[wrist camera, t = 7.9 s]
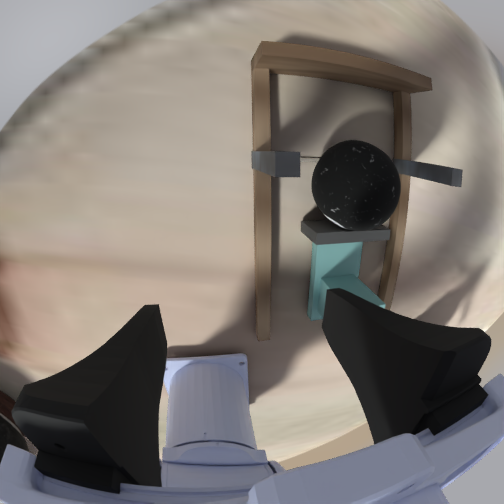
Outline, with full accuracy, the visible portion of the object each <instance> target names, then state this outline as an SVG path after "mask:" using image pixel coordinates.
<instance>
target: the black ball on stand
mask: <svg viewBox="0 0 504 504" xmlns="http://www.w3.org/2000/svg"><path fill="white" fill-rule="evenodd" d="M15 403H16V402H15V401H14V400H13V399H12V398H10V397H9V396H8V395H6V394H5V393H3V392H2V391H0V464H1V461H2V458H3V455H4V452H5V449H6V447H7V444H10V445H12V446H15V447H17V448H20V449H23V450H25V451H28V452H29V449H28V446H27V444H26V441H25V439H24V437H23V436H25V435H24V434H23V432H22V431H21V430H20V429H19V428H18V426H17V425H16V424H15V421H14V419H13V417H12V409H13V407H14V405H15ZM25 437H26V436H25Z"/></svg>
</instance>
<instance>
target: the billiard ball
mask: <svg viewBox="0 0 504 504" xmlns="http://www.w3.org/2000/svg"><path fill="white" fill-rule="evenodd" d="M312 193H313V197H314V200H315V202H316V204H317V206H318V207H319V209H320V210H321V212H322V213H323V214H324V215H325V216H326V217H327V218H328V219H329V220H331V221H332V222H333V223H335V224H337V225H338V226H340V227H343V228H345V229H348V230H353V231H367V230H371V229H374V228H376V227H378V226H380V225H382V224H383V223H384V222H385V221H387V220H388V219H389V218H390V216H391V215H392V214H393V212H394V211H395V209H396V207H397V205H398V202H399V199H400V194H401V181H400V176H399V173H398V171H397V168H396V166H395V165H394V163H393V162H392V160H391V159H390V158H389V157H388V156H387V155H386V154H385V153H384V152H383V151H382V150H380V149H379V148H377V147H375V146H374V145H372V144H369V143H366V142H363V141H357V140H349V141H344V142H341V143H338V144H336V145H334V146H333V147H331V148H330V149H329V150H327V151H326V152H325V153H324V154H323V155H322V157H321V158H320V159H319V161H318V163H317V165H316V167H315V169H314V172H313V176H312Z"/></svg>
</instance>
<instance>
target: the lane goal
mask: <svg viewBox="0 0 504 504" xmlns="http://www.w3.org/2000/svg"><path fill="white" fill-rule="evenodd" d="M269 73H270V74H285V75H297V76H307V77H315V78H323V79H330V80H336V81H342V82H348V83H353V84H358V85H363V86H368V87H373V88H377V89H381V90H385V91H389V92H393V101H394V158H393V163H394V165H395V166H396V168H397V171H398V173H399V176H400V181H401V194H400V199H399V202H398V205H397V207H396V209H395V211H394V212H393V214H392V215H391V216H390V222H389V229H390V230H391V231H390V239H389V240H387V245H386V252H385V259H384V265H383V271H382V277H381V282H380V287H379V292H378V297H379V298H380V299H381V300H382V301H383V302H384V303H385V304H386V305H385V309H387V310H389V311H390V307H391V303H392V299H393V295H394V290H395V285H396V281H397V276H398V271H399V265H400V260H401V254H402V248H403V242H404V235H405V227H406V219H407V211H408V201H409V189H410V176H413V177H417V178H422V179H426V180H430V181H434V182H438V183H442V184H446V185H450V186H456V187H461V184H462V170H460V169H456V168H450V167H445V166H440V165H434V164H428V163H422V162H416V161H411V146H412V126H411V99H410V93H416V92H423V91H430V90H432V83H431V78H429V77H426V76H423V75H421V74H418V73H416V72H413V71H410V70H407V69H404V68H401V67H398V66H395V65H392V64H389V63H385V62H382V61H379V60H375V59H371V58H367V57H364V56H360V55H355V54H351V53H347V52H342V51H337V50H332V49H326V48H320V47H314V46H307V45H300V44H291V43H282V42H269V41H261V43H260V45H259V47H258V49H257V51H256V53H255V54H254V56H253V58H252V60H251V75H252V124H253V151H252V168H253V176H254V233H255V296H256V335H257V338H258V341H264V340H270V312H271V176H273V177H300V162H318V161H319V159H320V158H300V152H285V151H271V128H270V83H269Z"/></svg>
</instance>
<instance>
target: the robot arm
mask: <svg viewBox="0 0 504 504" xmlns="http://www.w3.org/2000/svg"><path fill="white" fill-rule="evenodd" d="M322 329H323V331H324V334H325V336H326V339H327V341H328V343H329V345H330V347H331V349H332V351H333V352H334V354H335V356H336V357H337V359H338V361H339V362H340V364H341V366H342V367H343V369H344V371H345V372H346V374H347V376H348V377H349V379H350V381H351V383H352V385H353V386H354V389H355V391H356V393H357V396H358V398H359V400H360V403H361V405H362V408H363V410H364V413H365V416H366V418H367V421H368V424H369V427H370V431H371V434H372V437H373V440H374V445H372V446H369V447H366V448H364V449H361V450H358V451H355V452H352V453H349V454H346V455H343V456H339V457H336V458H332V459H329V460H325V461H322V462H318V463H314V464H310V465H306V466H301V467H297V468H293V469H290V470H287V471H286V470H285V469H284V468H283V467H282V466H281V465H280V464H279V463H278V462H276V461H267V457H266V452H265V450H257V445H256V441H255V436H254V431H253V426H252V421H251V416H250V411H249V389H248V365H247V356H246V355H245V354H244V353H239V354H228V355H216V356H203V357H185V358H167V340H166V336H165V331H164V327H163V323H162V318H161V313H160V308H159V304H156V305H144V306H143V307H142V308H141V309H140V310H139V311H138V312H137V313H136V314H135V315H134V316H133V317H132V318H131V319H130V320H129V321H128V322H127V323H126V324H125V325H124V326H123V327H122V328H121V329H120V330H119V331H118V332H117V333H116V334H115V335H114V336H113V337H112V338H110V339H109V340H108V341H107V342H106V343H105V344H104V345H102V346H101V347H100V348H99V349H97V350H96V351H94V352H93V353H92V354H90V355H89V356H87V357H86V358H84V359H83V360H81V361H79V362H78V363H76V364H74V365H73V366H71V367H69V368H67V369H65V370H63V371H61V372H59V373H57V374H55V375H52V376H50V377H48V378H45V379H42V380H39V381H36V382H33V383H31V384H27V385H24V387H23V389H22V391H21V393H20V395H19V397H18V399H17V401H16V403H15V405H14V407H13V409H12V417H13V419H14V421H15V424H16V425H17V426H18V428H19V429H20V430H21V431H22V432H23V434H24V435H25V436H26V437H27V438H28V439H29V440H30V441H31V442H32V443H33V444H34V446H35V447H36V448H37V449H38V450H39V451H38V455H37V457H36V456H35V455H33V454H32V453H30V452H28V451H25V450H23V449H20V448H17V447H15V446H12V445H10V444H7V447H6V449H5V452H4V455H3V458H2V461H1V464H0V501H1V502H2V503H4V504H449V502H448V501H447V499H446V497H445V496H444V494H443V492H442V489H443V488H445V487H446V486H447V485H449V484H450V483H452V482H453V481H455V480H456V479H457V478H458V477H460V476H461V475H462V474H464V473H465V472H466V471H467V470H469V469H470V468H471V467H473V466H474V465H475V464H476V463H477V462H478V461H480V460H481V459H482V458H483V457H484V456H486V455H487V454H488V453H489V452H490V451H491V450H492V449H493V448H494V447H496V446H497V445H498V444H499V443H500V442H501V441H502V440H503V439H504V377H503V375H502V374H498V375H497V376H496V377H495V378H493V379H492V380H491V381H489V382H488V383H487V384H486V385H485V386H484V387H483V388H482V387H481V386H480V385H479V383H480V382H481V378H480V377H479V376H478V375H477V374H478V372H479V371H480V369H481V367H482V365H483V363H484V361H485V360H486V358H487V355H488V353H489V351H490V347H491V338H490V336H488V335H487V334H486V333H485V332H484V331H483V330H481V329H479V328H457V327H448V326H441V325H435V324H431V323H426V322H422V321H418V320H414V319H411V318H408V317H405V316H402V315H399V314H397V313H394V312H392V311H389V310H387V309H384V308H382V307H380V306H378V305H376V304H374V303H371V302H369V301H367V300H365V299H363V298H361V297H359V296H357V295H355V294H353V293H351V292H349V291H346V290H344V289H341V288H333V289H327V291H326V300H325V308H324V315H323V323H322ZM240 362H243V363H240ZM166 367H167V368H166ZM163 381H164V384H165V387H166V390H167V392H168V395H169V398H168V412H167V428H166V447H163V456H162V461H161V459H159V437H158V421H159V404H160V398H161V392H162V386H163Z"/></svg>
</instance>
